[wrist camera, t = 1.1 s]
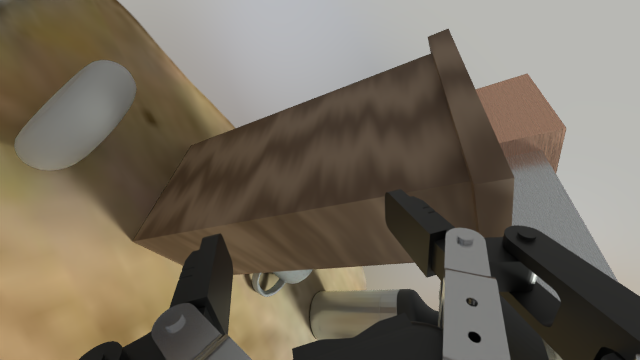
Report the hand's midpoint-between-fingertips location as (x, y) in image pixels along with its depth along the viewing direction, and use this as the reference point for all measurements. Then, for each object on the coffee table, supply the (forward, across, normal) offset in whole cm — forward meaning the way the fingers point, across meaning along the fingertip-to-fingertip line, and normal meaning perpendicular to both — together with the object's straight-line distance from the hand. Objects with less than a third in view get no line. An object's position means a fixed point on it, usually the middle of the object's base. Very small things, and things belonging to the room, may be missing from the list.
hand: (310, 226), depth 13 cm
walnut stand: (+22, -12, -9) cm, 26 cm away
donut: (+17, -19, +4) cm, 26 cm away
